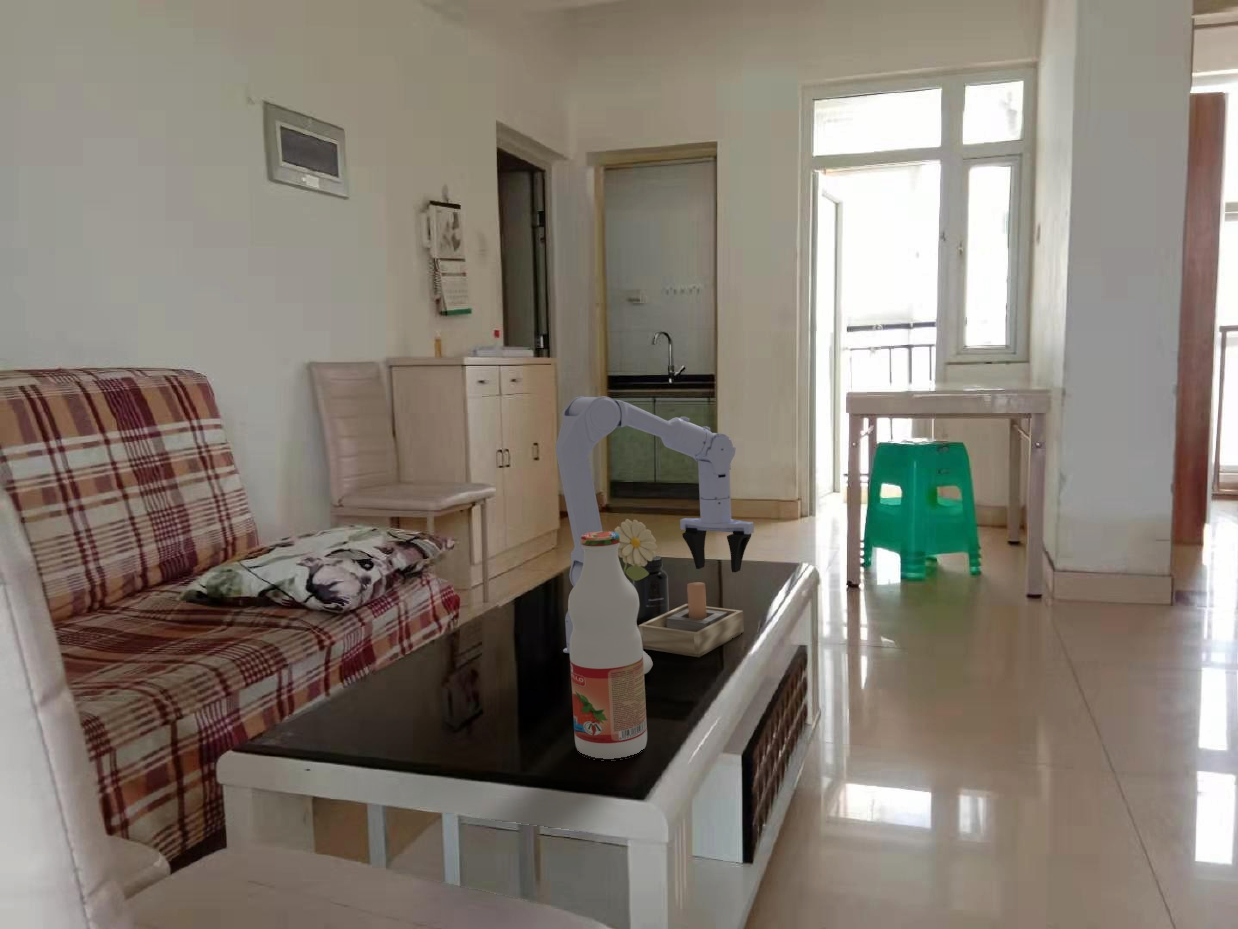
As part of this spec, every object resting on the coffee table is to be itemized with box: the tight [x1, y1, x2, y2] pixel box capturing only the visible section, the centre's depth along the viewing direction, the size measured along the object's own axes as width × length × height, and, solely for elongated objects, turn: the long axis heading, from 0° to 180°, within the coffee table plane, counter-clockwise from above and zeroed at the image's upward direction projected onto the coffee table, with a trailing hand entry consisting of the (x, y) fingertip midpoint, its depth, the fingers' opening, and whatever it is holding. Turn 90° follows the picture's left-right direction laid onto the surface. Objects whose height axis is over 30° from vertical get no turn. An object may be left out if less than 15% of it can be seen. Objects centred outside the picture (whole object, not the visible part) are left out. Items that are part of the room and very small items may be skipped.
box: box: [637, 603, 745, 658], centre depth 165 cm, size 16×12×4 cm
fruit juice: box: [567, 530, 648, 759], centre depth 119 cm, size 9×9×28 cm
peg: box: [686, 581, 707, 620], centre depth 166 cm, size 3×3×9 cm
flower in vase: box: [614, 518, 658, 675], centre depth 147 cm, size 13×11×25 cm
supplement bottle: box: [632, 555, 670, 623], centre depth 180 cm, size 7×7×12 cm
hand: (718, 569), depth 173 cm, fingers open, 7 cm apart
